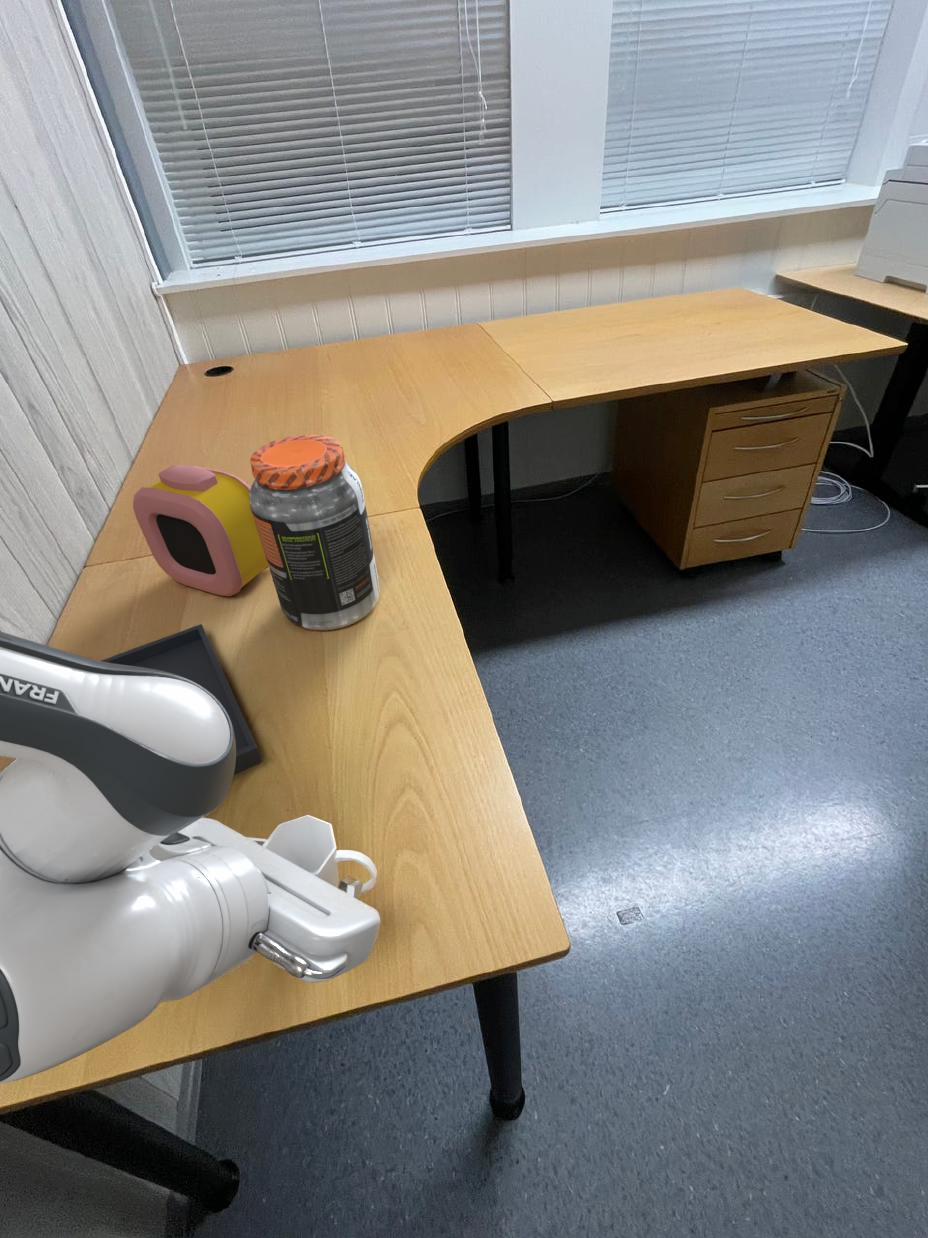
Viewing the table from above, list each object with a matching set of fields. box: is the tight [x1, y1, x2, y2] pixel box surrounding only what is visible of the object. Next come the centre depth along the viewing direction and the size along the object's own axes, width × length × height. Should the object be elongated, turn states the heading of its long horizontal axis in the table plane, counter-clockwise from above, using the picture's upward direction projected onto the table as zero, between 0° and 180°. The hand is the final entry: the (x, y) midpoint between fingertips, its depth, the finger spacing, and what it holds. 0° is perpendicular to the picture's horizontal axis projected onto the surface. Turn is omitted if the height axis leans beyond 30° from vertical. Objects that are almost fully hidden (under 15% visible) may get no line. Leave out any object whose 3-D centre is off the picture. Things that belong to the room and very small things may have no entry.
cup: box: [262, 814, 378, 896], centre depth 56 cm, size 7×10×8 cm
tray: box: [100, 623, 263, 776], centre depth 78 cm, size 28×19×3 cm
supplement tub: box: [249, 434, 380, 631], centre depth 89 cm, size 16×16×26 cm
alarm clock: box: [132, 464, 269, 597], centre depth 98 cm, size 18×11×19 cm, turn 65°
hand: (317, 867), depth 56 cm, fingers closed on cup, 7 cm apart
